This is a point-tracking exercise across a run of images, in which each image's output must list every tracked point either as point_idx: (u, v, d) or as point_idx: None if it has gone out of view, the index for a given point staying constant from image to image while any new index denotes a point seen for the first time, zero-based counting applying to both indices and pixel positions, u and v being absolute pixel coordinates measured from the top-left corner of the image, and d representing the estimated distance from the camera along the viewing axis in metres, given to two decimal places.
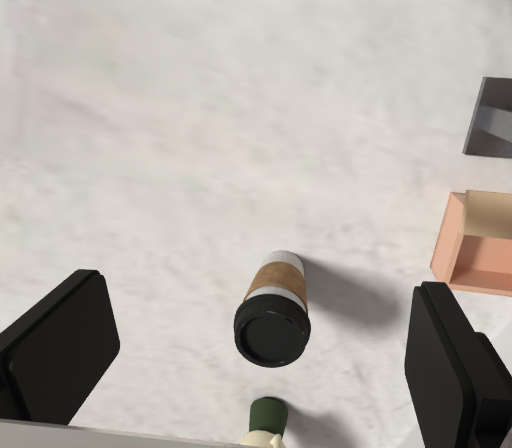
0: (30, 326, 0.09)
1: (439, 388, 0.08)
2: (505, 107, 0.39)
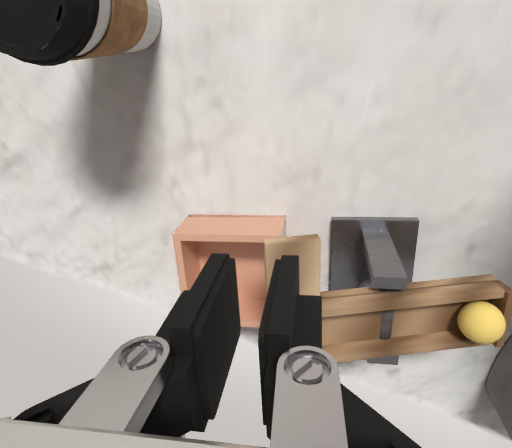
0: (201, 302, 0.09)
1: None
2: None
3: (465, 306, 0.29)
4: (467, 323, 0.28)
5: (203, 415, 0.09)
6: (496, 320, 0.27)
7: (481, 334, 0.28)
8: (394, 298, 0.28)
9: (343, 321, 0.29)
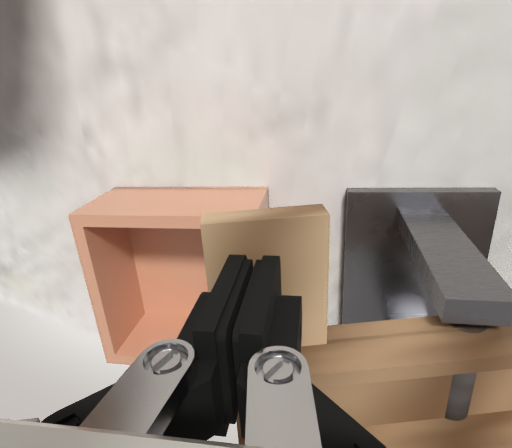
0: (222, 304, 0.09)
1: None
2: None
3: None
4: None
5: (225, 419, 0.09)
6: None
7: None
8: (489, 346, 0.13)
9: (374, 386, 0.14)
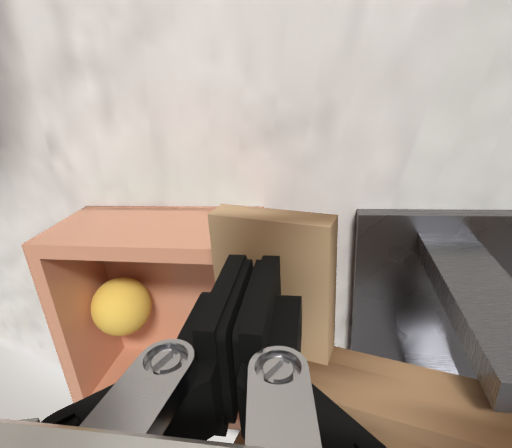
0: (222, 304, 0.09)
1: None
2: None
3: (133, 295, 0.20)
4: (148, 291, 0.21)
5: (225, 419, 0.09)
6: None
7: None
8: None
9: (383, 432, 0.13)
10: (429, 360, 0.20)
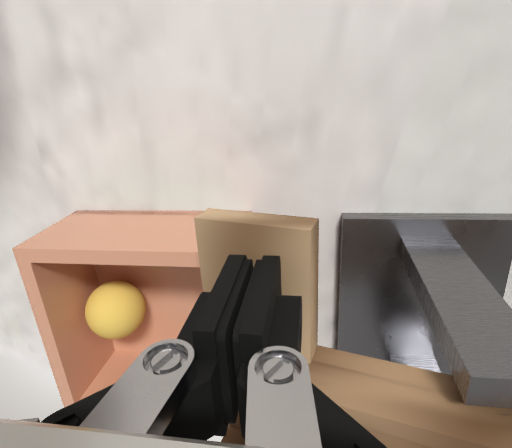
0: (223, 304, 0.09)
1: None
2: None
3: (130, 297, 0.20)
4: (141, 293, 0.22)
5: (225, 419, 0.09)
6: None
7: None
8: (500, 434, 0.10)
9: None
10: (413, 360, 0.20)
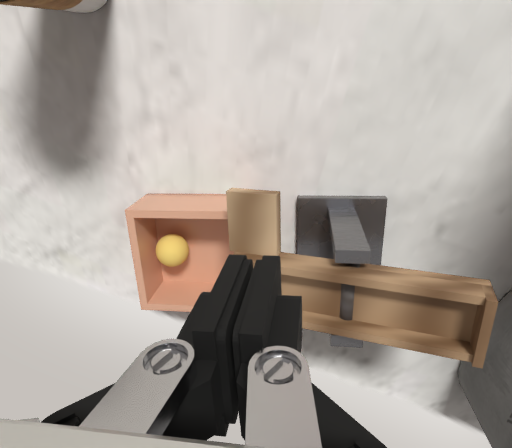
0: (223, 304, 0.09)
1: None
2: None
3: (182, 241, 0.36)
4: None
5: (225, 419, 0.09)
6: None
7: None
8: (347, 273, 0.26)
9: (300, 286, 0.29)
10: None
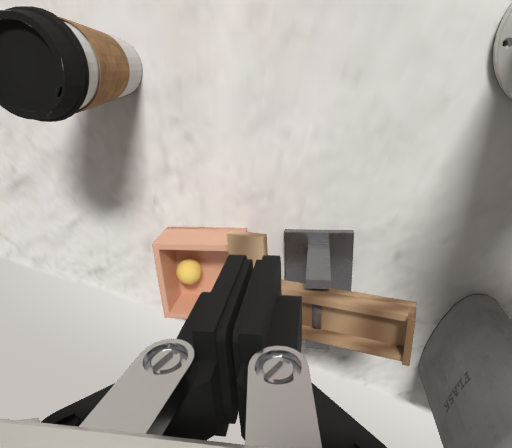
0: (222, 304, 0.09)
1: None
2: None
3: (197, 264, 0.46)
4: None
5: (225, 419, 0.09)
6: None
7: None
8: (314, 295, 0.36)
9: None
10: None
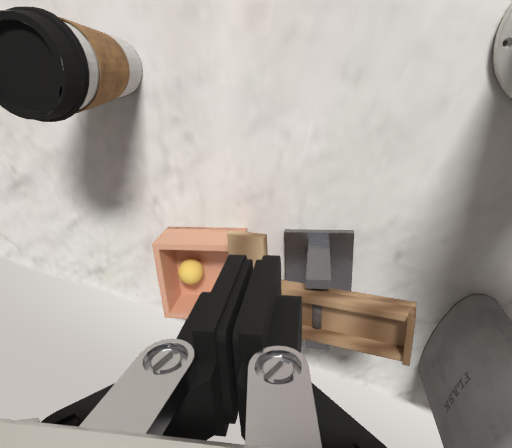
0: (222, 304, 0.09)
1: None
2: None
3: (199, 263, 0.47)
4: None
5: (225, 419, 0.09)
6: None
7: None
8: (314, 295, 0.36)
9: None
10: None
